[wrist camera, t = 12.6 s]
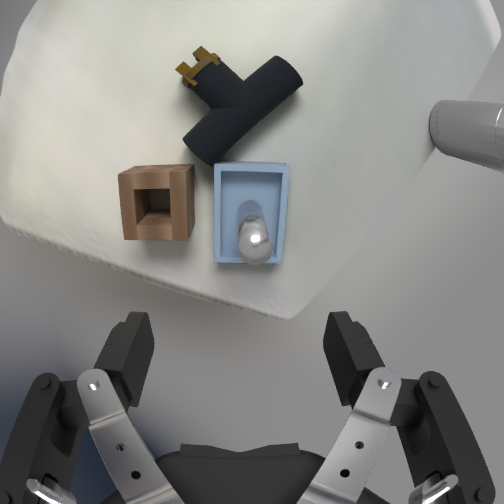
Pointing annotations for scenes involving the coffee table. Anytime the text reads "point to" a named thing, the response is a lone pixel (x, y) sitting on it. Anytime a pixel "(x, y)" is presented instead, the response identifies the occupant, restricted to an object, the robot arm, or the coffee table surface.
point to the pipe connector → (233, 100)
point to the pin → (253, 234)
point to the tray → (242, 189)
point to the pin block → (138, 203)
